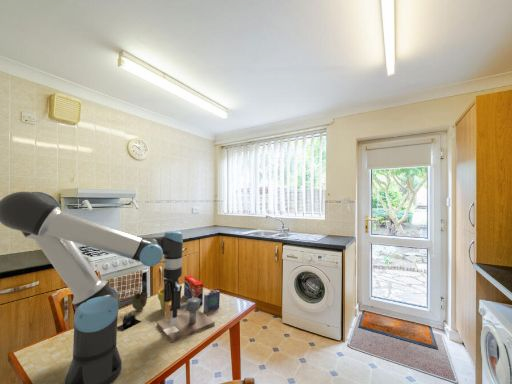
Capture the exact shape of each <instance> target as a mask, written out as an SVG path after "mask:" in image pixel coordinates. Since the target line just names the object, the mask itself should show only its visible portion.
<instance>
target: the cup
mask: <svg viewBox="0 0 512 384" xmlns="http://www.w3.org/2000/svg"><path fill="white" fill-rule="evenodd" d="M148 295H149V294H148V293H146V292H137V293H134V295H131V304H132V305H131V306H132V308H133V309H134V311H135V312H136V313H140V312H142V311H143V310H144V307H146V305H147V300H148Z"/></svg>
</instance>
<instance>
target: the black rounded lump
mask: <svg viewBox="0 0 512 384" xmlns="http://www.w3.org/2000/svg"><path fill="white" fill-rule="evenodd" d="M122 318H123V319H122V324H120V325H117V331H118V330H119V331H120V332H124V331H126V330H128V329H130V328H132V327H134V326H137V325H138V324H140V323H142V321H141V320H139V319H137V318H136V316H135V314H133V313H129V314H126V315H124V316H123V317H122Z"/></svg>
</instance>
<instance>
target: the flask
mask: <svg viewBox="0 0 512 384" xmlns="http://www.w3.org/2000/svg"><path fill="white" fill-rule="evenodd" d="M220 293H221V291H220V290H218V289H216V290H214V289H213V288H210V291H209V292H206V293H203V294H204V295H203V312H204V314H205V313H209V312H213V311H214V310H215V311H216V310H218V309H220V296H221V295H220Z"/></svg>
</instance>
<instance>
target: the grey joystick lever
mask: <svg viewBox="0 0 512 384" xmlns="http://www.w3.org/2000/svg"><path fill="white" fill-rule="evenodd" d="M185 301H186V302H181V303H180V309H177V317H178V315H179V311H180V310H184V309H185V310H186V312H189V311H196V310H200V307H201V306H200V299H199V298H190V299H186V300H185ZM170 309H172V307H171V301H168V302H165V312H164V316H165V319H166V318H167V319H168V320H170Z"/></svg>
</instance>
